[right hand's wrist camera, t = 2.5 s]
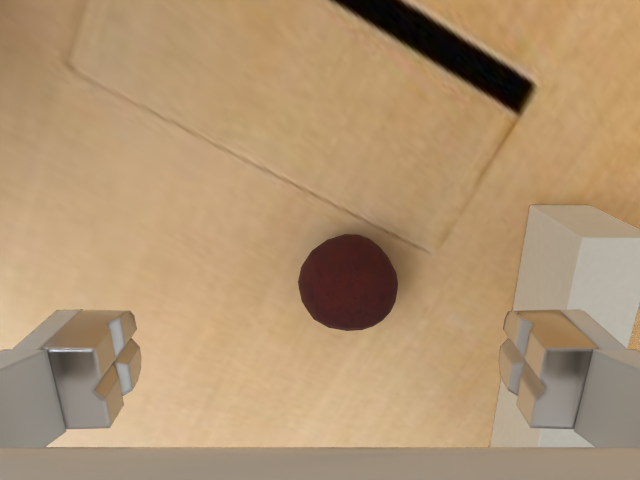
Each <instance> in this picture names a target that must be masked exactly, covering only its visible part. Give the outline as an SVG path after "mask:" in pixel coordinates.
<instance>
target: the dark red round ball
mask: <svg viewBox="0 0 640 480" xmlns="http://www.w3.org/2000/svg"><path fill="white" fill-rule="evenodd" d="M298 283H299V290H300V294H301V299H302V302H303V304H304V305H305V307H306V309H307V310H308V312H309V313H310V314H311V316H312V317H313V319H314V320H316V321H318V322H320V323H322V324H323V325H325V326H327V327H329V328H334V329H340V330H346V331H350V330H363V329H366V328H369V327H372V326H374V325H376V324H377V323H379V322H381V321H382V320H383V319H384V318H385V317H386V316H387V315H388V314H389V313H390V311H391V309H392V307H393V305H394V303H395V300H396V294H397V287H398V282H397V276H396V272H395V270H394V268H393V266H392V264H391V262H390V260H389V258H388V257H387V256H386V254H385V253H384V252H383V251H382V249H381V248H380V247H379V246H378V245H376V244H375V243H374V242H372V241H371V240H370V239H368V238H365V237H363V236H360V235H349V234H345V235H341V236H338V237H335V238H332V239H329V240H327V241H325V242H324V243H322V244H321V245H320V246H318V247H317V248H315V249H314V250H312V252H311V253H310V255H309V256H308V258H307V259H306V261H305V262H304V264H303V265H302V267H301V272H300V276H299V281H298Z"/></svg>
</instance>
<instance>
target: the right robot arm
mask: <svg viewBox="0 0 640 480" xmlns="http://www.w3.org/2000/svg"><path fill="white" fill-rule="evenodd" d="M136 330H137V327H136V322H135V317H134V315H133V314H132V312H131V311H127V310H83V309H72V310H56V311H55V312H54V313H53V314H52V315H51V316H49V317H48V318H47V319H46V320H45V321H44V322H43V323H41V324H40V325H39V326H38V327H37V328H36V329H35V330H34V331H32V332H31V333H30V334H29V335H28V336H27V337H26V338H24V339H23V340H22V341H21V342H20V343H19V344H18V345H16V346H15V347H14V348H13V349H9V350H2V351H0V480H640V351H638V350H632V349H627V348H626V347H625V346H624V345H622V344H621V343H620V342H619V341H618V340H617V339H616V338H614V337H613V336H612V335H611V334H610V333H609V332H608V331H607V330H605V329H604V328H603V327H602V326H601V325H600V324H599V323H597V322H596V321H595V320H594V319H593V318H592V317H591V316H590V315H588V314H587V313H586V312H585V311H583V310H579V309H569V310H521V311H509V312H508V313H507V315H506V317H505V321H504V327H503V330H504V331H505V333H506V334H507V336H508V337H509V338H508V339H507V340H506V341H505V342H504V343H503V345H502V346H501V347H500V353H499V369H500V375H501V378H502V381H503V383H504V385H505V387H506V388H507V390H508V391H510V392H511V393H513V394H515V395H516V396H518V397H517V403H516V405H517V407H518V409H519V410H520V412H521V413H522V415H523V417H524V418H525V420H526V422H527V423H528V425H529V427H530V428H546V429H574V432H576V433H577V434H578V435H580V436H581V437H582V438H584V439H585V440H586V441H588V442H589V443H590V444H592V445H593V446H594V447H46V446H47V445H48V444H50V443H51V442H52V441H54V440H55V439H57V438H58V437H59V436H61V435H62V434H63V433H65V432H66V429H93V428H110V427H111V425H112V423H113V422H114V420H115V418H116V417H117V415H118V413H119V412H120V410H121V409H122V407H123V405H124V403H123V397H122V396H124V395H125V394H127V393H129V392H130V391H132V390H133V388H134V386H135V385H136V383H137V381H138V378H139V374H140V370H141V352H140V347H139V346H138V345H137V343H136V342H135V341H134V340H133V339H132V338H131V337H132V336H133V334H134V333H135V331H136Z"/></svg>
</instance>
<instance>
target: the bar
mask: <svg viewBox="0 0 640 480" xmlns="http://www.w3.org/2000/svg"><path fill="white" fill-rule="evenodd" d="M639 304H640V229H638V228H636V227H634V226H632V225H630V224H628V223H626V222H624V221H622V220H620V219H618V218H616V217H613V216H611V215H609V214H607V213H605V212H603V211H601V210H599V209H597V208H595V207H593V206H591V205H530V209H529V215H528V221H527V227H526V233H525V239H524V245H523V251H522V257H521V263H520V268H519V274H518V280H517V286H516V292H515V298H514V304H513V310H512V311H521V310H569V309H579V310H583V311H585V312H586V313H587V314H588V315H590V316H591V317H592V318H593V319H594V320H595V321H596V322H597V323H599V324H600V325H601V326H602V327H603V328H604V329H605V330H607V331H608V332H609V333H610V334H611V335H612V336H613V337H614V338H616V339H617V340H618V341H619V342H620V343H621V344H622V345H624V346H625V347H626V348H628V344H629V341H630V337H631V334H632V330H633V326H634V323H635V319H636V315H637V312H638V308H639ZM508 338H509V337H508ZM517 397H518V396H516V395H515V394H513V393H511V392H510V391H508V390H507V388H506V387H505V385H504V383H503V381H502V378H501V382H500V388H499V394H498V400H497V406H496V412H495V418H494V424H493V430H492V436H491V442H490V447H594V446H593V445H592V444H590V443H589V442H588V441H586V440H585V439H584V438H582V437H581V436H580V435H578V434H577V433H576V432H574V429H546V428H530V427H529V425H528V423H527V422H526V420H525V418H524V417H523V415H522V413H521V412H520V410H519V409H518V407H517V405H516V403H517Z"/></svg>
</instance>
